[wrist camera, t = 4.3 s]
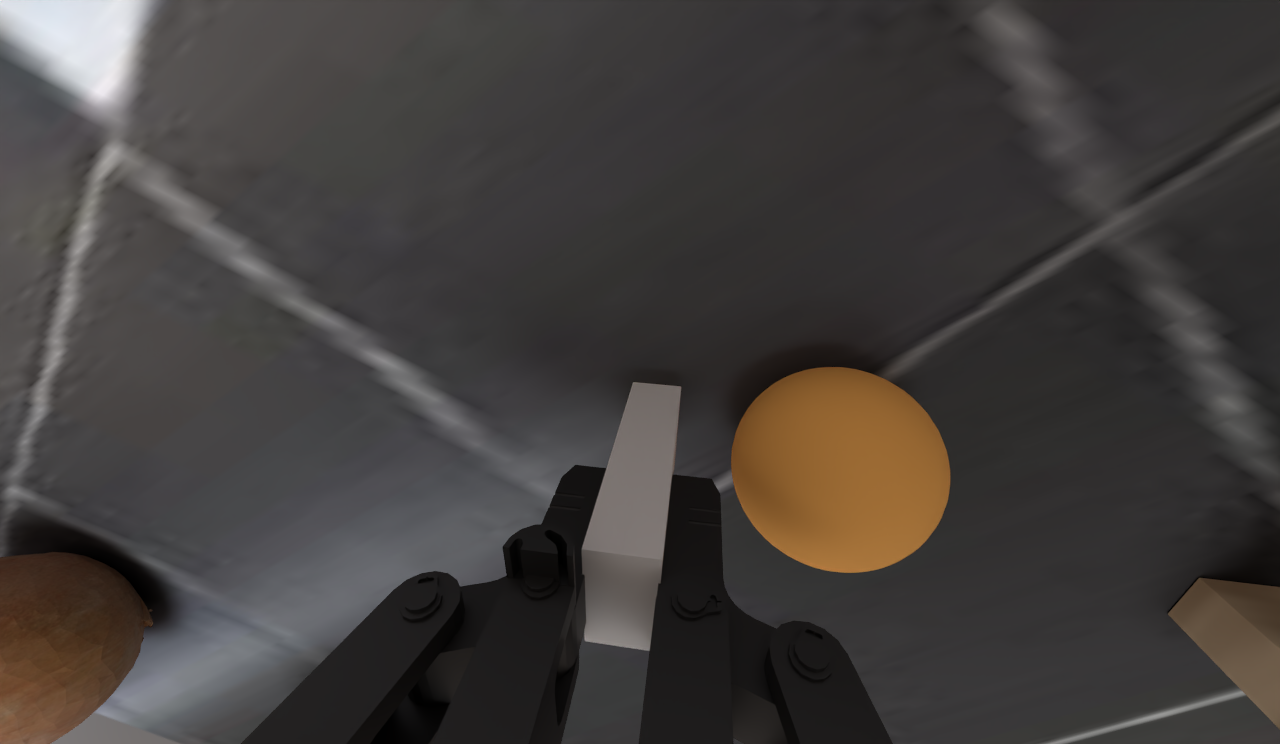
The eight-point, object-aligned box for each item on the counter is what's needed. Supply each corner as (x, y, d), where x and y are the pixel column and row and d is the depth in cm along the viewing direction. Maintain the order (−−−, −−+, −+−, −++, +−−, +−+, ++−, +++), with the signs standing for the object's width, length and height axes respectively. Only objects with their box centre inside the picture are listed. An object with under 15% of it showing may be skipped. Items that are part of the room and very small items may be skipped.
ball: (924, 343, 14) (1045, 457, 9) (874, 486, 16) (947, 635, 11) (738, 329, 14) (756, 429, 9) (718, 469, 17) (724, 605, 12)
